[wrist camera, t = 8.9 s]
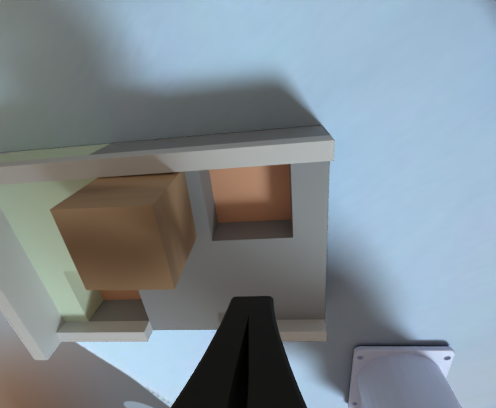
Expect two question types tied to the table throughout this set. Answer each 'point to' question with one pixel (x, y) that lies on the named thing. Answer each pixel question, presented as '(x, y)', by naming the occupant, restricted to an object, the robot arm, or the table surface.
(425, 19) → the table surface
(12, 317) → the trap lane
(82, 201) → the walnut block
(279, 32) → the table surface
